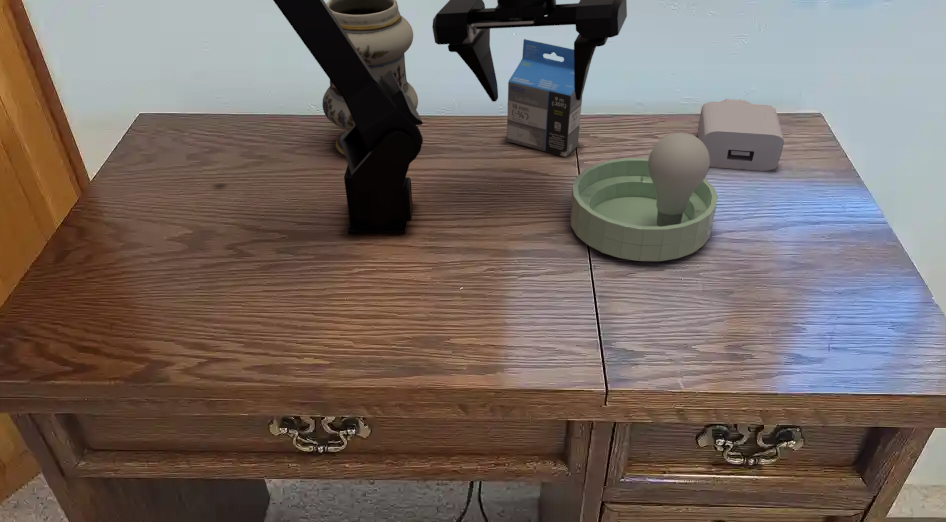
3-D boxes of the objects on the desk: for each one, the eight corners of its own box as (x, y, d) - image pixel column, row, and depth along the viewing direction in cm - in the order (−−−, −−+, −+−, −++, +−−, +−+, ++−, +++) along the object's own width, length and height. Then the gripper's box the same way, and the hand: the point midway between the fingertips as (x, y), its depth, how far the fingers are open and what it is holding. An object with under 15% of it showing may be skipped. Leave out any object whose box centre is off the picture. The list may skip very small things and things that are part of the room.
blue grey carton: (505, 142, 104) (506, 48, 96) (519, 131, 107) (522, 38, 99) (566, 158, 101) (573, 61, 93) (579, 146, 103) (587, 51, 95)
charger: (764, 119, 109) (776, 172, 97) (695, 115, 110) (698, 166, 99) (772, 86, 106) (785, 135, 94) (701, 81, 107) (705, 130, 96)
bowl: (574, 265, 83) (577, 228, 80) (566, 192, 94) (568, 157, 91) (722, 267, 82) (731, 229, 79) (695, 192, 94) (702, 158, 91)
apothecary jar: (350, 174, 98) (332, 25, 87) (314, 137, 106) (293, -4, 95) (436, 150, 103) (430, 6, 91) (395, 116, 111) (385, -20, 99)
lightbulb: (632, 238, 85) (646, 143, 78) (645, 210, 90) (659, 118, 83) (690, 249, 83) (709, 154, 76) (700, 221, 88) (719, 127, 81)
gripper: (634, -91, 78) (636, 66, 87) (454, -74, 84) (476, 71, 93) (614, -58, 70) (619, 111, 79) (417, -42, 76) (445, 113, 86)
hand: (536, 99), depth 85 cm, fingers open, 9 cm apart
